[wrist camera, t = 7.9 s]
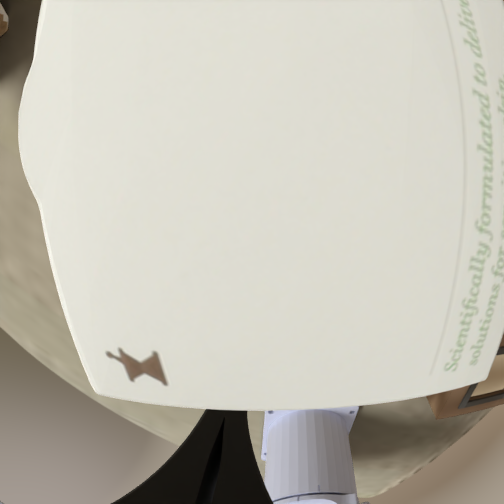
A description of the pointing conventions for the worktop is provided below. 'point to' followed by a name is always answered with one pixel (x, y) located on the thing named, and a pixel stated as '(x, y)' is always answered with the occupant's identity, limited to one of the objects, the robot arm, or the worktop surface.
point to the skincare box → (272, 196)
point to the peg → (492, 378)
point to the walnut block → (465, 398)
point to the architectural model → (3, 21)
